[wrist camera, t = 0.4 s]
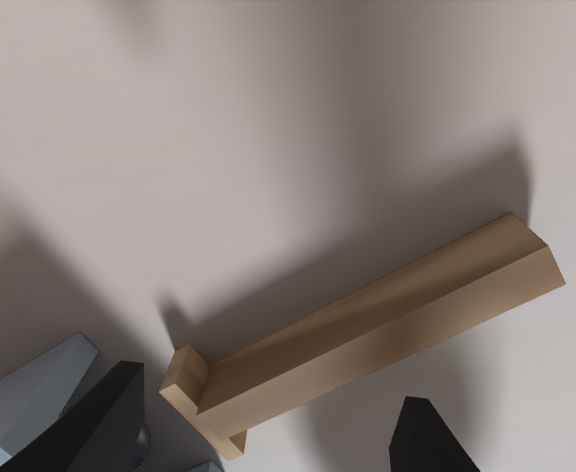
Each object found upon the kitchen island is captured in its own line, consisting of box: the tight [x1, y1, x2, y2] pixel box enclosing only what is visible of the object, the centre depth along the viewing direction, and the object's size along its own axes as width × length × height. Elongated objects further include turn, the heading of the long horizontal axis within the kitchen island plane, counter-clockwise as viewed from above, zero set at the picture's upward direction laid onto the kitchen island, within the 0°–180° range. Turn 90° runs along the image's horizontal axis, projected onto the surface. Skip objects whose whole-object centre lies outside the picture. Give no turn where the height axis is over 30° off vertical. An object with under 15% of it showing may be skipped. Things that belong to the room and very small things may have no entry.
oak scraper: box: [159, 211, 566, 461], centre depth 21 cm, size 6×18×4 cm, turn 123°
